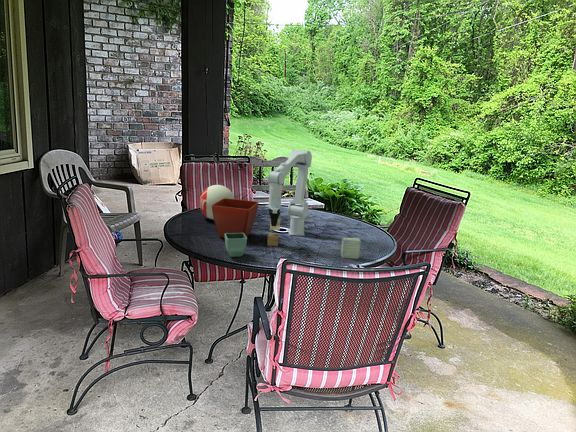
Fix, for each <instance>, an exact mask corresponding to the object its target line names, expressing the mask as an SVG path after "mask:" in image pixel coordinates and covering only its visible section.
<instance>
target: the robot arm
mask: <svg viewBox="0 0 576 432" xmlns="http://www.w3.org/2000/svg"><path fill="white" fill-rule="evenodd" d="M312 158H313V155H312V152H311V151H310V150H301V149H294V148H293V149H291V151H290V153H289V157H288V159H287V160H286V161H285V162H281V163H280V164H279V165H278V167H277V168H276V169H275V170H274V171H273V170H271V171H270V172H269V173H268V176H267V182H268V187H269V194H268V204H267V205H265V206H266V208H268V215H269V218H270V220H271V225H272V226H276V225H277V221H278V217H280V216H281V208H282V205H281V204H282V190H283V185H284V183H285V180H286V178H287V176H288V175H289V174H290V172H291V170H292V169H291V168H293V167H294V166H295V167H297V177H296V184H295V190H294V198H292V199H291V200H290V201H289V203H288V205H287V206H288V207H287V214H288V215H289V218H290V223H289V229H288V235H289V236H303V237H304V236H305V235H306V234H305V230H304V227H305V219H306V218H307V217H308V215H309V203H308V201H306V200H305V194H306V193H305V192H306V188H307V180H308V179H307V178H308V172H309V168H310V167H311V166H312V160H313V159H312Z"/></svg>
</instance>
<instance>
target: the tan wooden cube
mask: <svg viewBox="0 0 576 432" xmlns="http://www.w3.org/2000/svg"><path fill="white" fill-rule="evenodd" d="M267 246H268V247H269V246H270V247H278V246H279V233H275V232H268V233H267Z"/></svg>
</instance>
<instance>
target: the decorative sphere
mask: <svg viewBox="0 0 576 432" xmlns="http://www.w3.org/2000/svg"><path fill="white" fill-rule="evenodd" d="M234 196H235V195H234V194H233V192H232V191H231V190H230V189H229V187H227V186H224V185H222V184H214V185H210V186H207V187H206V188H205V189H204V190H203V191H202V193H201V194H200V197H199V201H198V202H199V203H198V204H199V208H200V211H201V213H202V214H203V215H204V216H205V217H206V218H208V219H210V220H213V221H214V218H213V212H212V205H213V204H214V203H216V202H218V201H220V200H221V199H223V198H228V199H236V198H235V197H234Z"/></svg>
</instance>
